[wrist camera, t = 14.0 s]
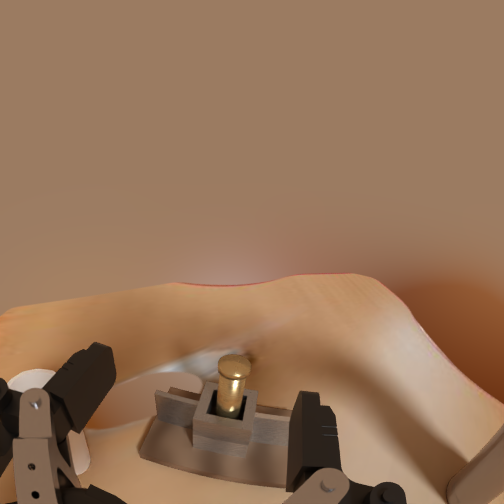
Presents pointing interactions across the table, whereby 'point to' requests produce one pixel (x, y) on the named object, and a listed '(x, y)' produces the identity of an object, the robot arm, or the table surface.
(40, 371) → the foam cup
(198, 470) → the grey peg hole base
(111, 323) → the table surface
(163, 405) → the grey winged socket holder
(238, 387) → the brass capped peg
